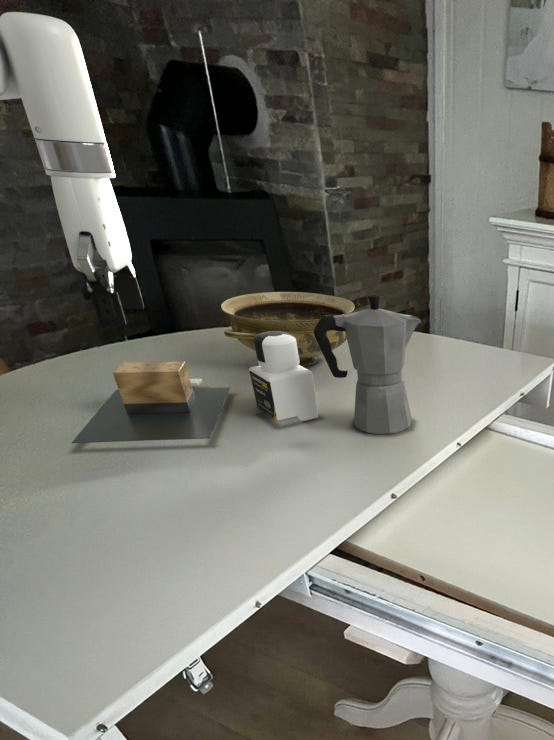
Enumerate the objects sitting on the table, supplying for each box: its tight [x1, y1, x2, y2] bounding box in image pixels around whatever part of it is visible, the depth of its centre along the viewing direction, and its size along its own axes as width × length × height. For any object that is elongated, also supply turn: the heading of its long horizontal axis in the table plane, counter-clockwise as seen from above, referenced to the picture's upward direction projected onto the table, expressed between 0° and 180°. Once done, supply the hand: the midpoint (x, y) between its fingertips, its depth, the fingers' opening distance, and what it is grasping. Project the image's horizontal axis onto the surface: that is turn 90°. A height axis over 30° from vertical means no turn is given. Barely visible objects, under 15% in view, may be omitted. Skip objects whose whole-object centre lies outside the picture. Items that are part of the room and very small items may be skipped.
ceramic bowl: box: [220, 291, 356, 367], centre depth 113 cm, size 30×24×10 cm
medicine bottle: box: [248, 331, 319, 422], centre depth 90 cm, size 7×7×12 cm
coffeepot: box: [314, 293, 422, 435], centre depth 87 cm, size 15×9×18 cm, turn 110°
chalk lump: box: [189, 377, 203, 387], centre depth 101 cm, size 2×2×2 cm
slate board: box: [71, 386, 231, 444], centre depth 90 cm, size 18×22×1 cm
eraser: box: [112, 361, 196, 414], centre depth 89 cm, size 9×5×6 cm, turn 100°
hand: (123, 316), depth 83 cm, fingers open, 9 cm apart
